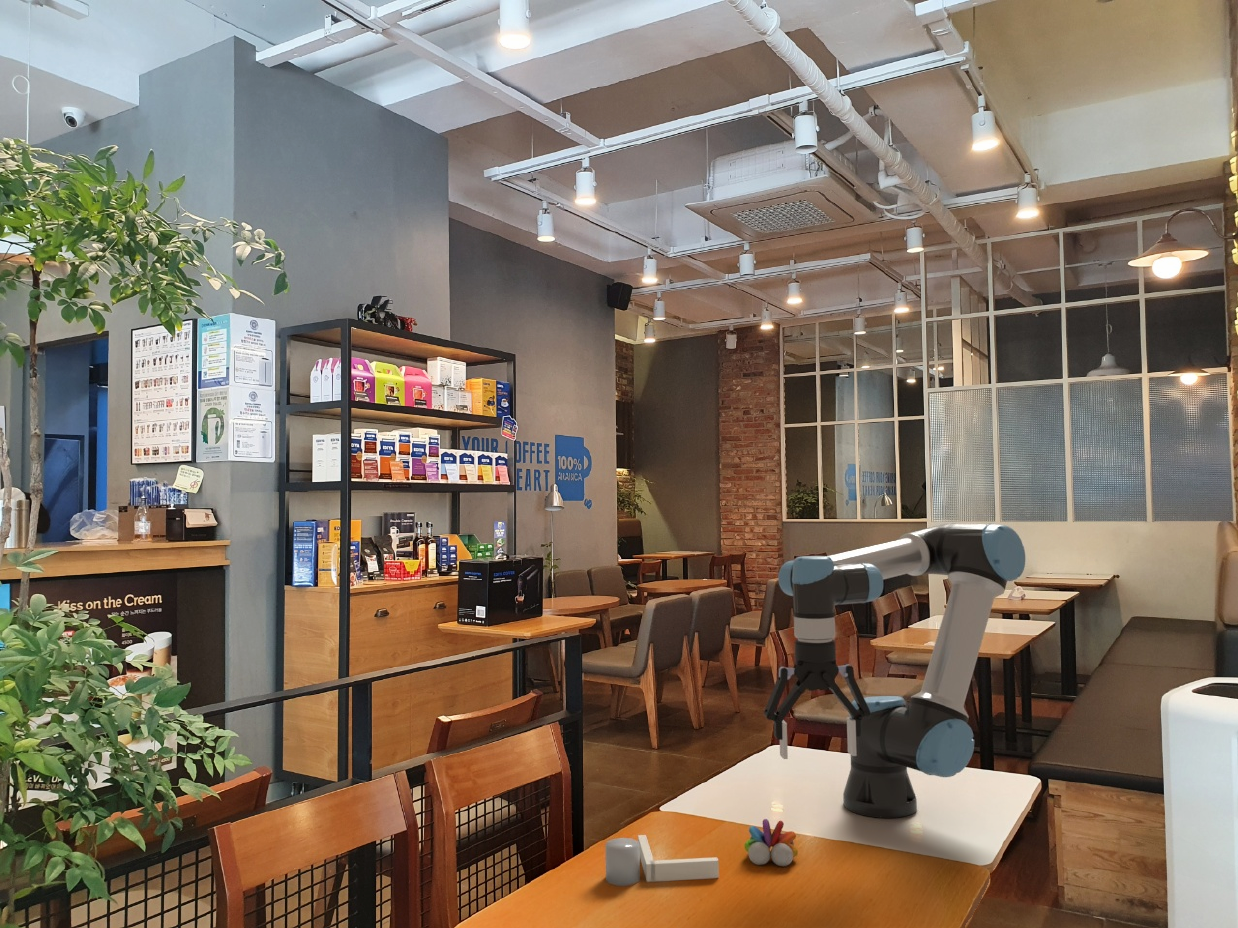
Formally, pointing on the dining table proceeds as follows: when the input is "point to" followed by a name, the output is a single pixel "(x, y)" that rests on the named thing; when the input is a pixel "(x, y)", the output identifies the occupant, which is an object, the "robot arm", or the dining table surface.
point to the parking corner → (675, 866)
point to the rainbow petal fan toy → (779, 841)
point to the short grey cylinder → (622, 861)
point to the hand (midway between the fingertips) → (818, 755)
